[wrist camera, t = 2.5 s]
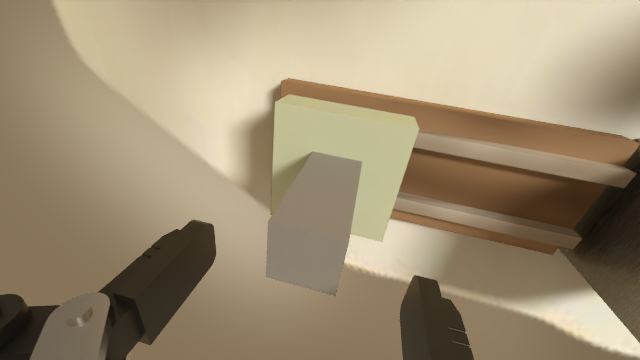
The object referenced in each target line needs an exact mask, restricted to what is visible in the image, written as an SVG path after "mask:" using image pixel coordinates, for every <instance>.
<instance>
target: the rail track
mask: <svg viewBox="0 0 640 360" xmlns="http://www.w3.org/2000/svg"><path fill="white" fill-rule="evenodd" d="M289 94H290V95H296V96H301V97H307V98H313V99H318V100H324V101H329V102H335V103H340V104H346V105H351V106H357V107H363V108H368V109H374V110H379V111H385V112H390V113H396V114H401V115H407V116H413V117H415V120H416V122H417V124H418V127H419V131H418V134H417V137H416V140H415V143H414V146H413V149H412V152H411V155H410V158H409V161H408V164H407V167H406V170H405V173H404V176H403V180H402V183H401V186H400V189H399V192H398V195H397V198H396V201H395V204H394V207H393V210H392V213H391V216H390V217H391V218H395V219H400V220H404V221H408V222H413V223H417V224H421V225H426V226H430V227H434V228H439V229H443V230H448V231H452V232H456V233H461V234H465V235H469V236H474V237H478V238H482V239H487V240H491V241H495V242H500V243H504V244H509V245H513V246H517V247H522V248H526V249H530V250H535V251H539V252H543V253H548V254H552V255H553V253H554V252H555V251H556V250H557V248H558V247H559V246H561V247H565V248H570V249H574V248H575V247H576V245H577V244H578V243H579V242H580V241H581V239H582V238H581V237H580V236H579V235H578V234H577V233H576V232H575V231H574V230H573V228H574V227H575V226H576V224H577V223H578V222H579V221H580V219H581V218H582V217H583V216H584V214H585V213H586V212H587V211H588V209H589V208H590V207H591V206H592V204H593V203H594V202H595V201H596V199H597V198H598V197H599V196H600V194H601V193H602V192H603V191H604V189H605V188H606V187H607V186H608V185H610V186H615V187H621V188H625V187H626V186H627V185H628V183H629V182H630V181H631V180H632V179H633V177H634V176H635V175H636V174H637V173H635V172H633V171H631V170H629V169H627V168H625V167H623V165H624V164H625V163H626V162H627V160H628V159H629V158H630V157H631V155H632V154H633V153H634V152H635V150H636V149H637V148H638V147H639V145H640V143H638V142H636V141H633V140H631V139H628V138H626V137H623V136H620V135H615V134H609V133H603V132H597V131H591V130H586V129H580V128H574V127H568V126H562V125H557V124H551V123H545V122H539V121H533V120H527V119H522V118H516V117H510V116H504V115H498V114H493V113H487V112H481V111H475V110H469V109H464V108H458V107H452V106H446V105H440V104H434V103H429V102H423V101H417V100H411V99H405V98H400V97H394V96H388V95H382V94H376V93H371V92H365V91H359V90H353V89H347V88H341V87H336V86H330V85H324V84H318V83H312V82H307V81H301V80H295V79H289V78H288V79H285V80H283V81H281V98H283V97H285V96H287V95H289Z"/></svg>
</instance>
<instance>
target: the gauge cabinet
mask: <svg viewBox="0 0 640 360" xmlns="http://www.w3.org/2000/svg"><path fill="white" fill-rule="evenodd" d="M636 142H638V143H640V139H637V141H636ZM623 167H625V168H627V169H629V170H631V171H633V172H635V173H637V174H636V175H635V176H634V177H633V179H632V180H631V181H630V182H629V183H628V185H627V186H626V187H625V188H621V187H615V186H610V185H608V186H607V187H606V188H605V189H604V191H603V192H602V193H601V194H600V196H599V197H598V198H597V199H596V201H595V202H594V203H593V204H592V206H591V207H590V208H589V209H588V211H587V212H586V213H585V214H584V216H583V217H582V218H581V219H580V221H579V222H578V223H577V224H576V226H575V227H574V228H573V230H574V231H575V232H576V233H577V234H578V235H579V236H580V237H581V238H582V239H581V241H580V242H579V243H578V244H577V245H576V247H575V248H574V249H570V248H565V247H561V246H559V247H558V248H559V249H560V250H561V252H562V253H563V254H564V255H565V256H566V257H567V259H568V260H569V261H570V262H571V263H572V264H573V266H574V267H575V268H576V269H577V270H578V271H579V273H580V274H581V275H582V276H583V277H584V278H585V280H586V281H587V282H588V283H589V284H590V285H591V287H592V288H593V289H594V290H595V291H596V292H597V294H598V295H599V296H600V297H601V298H602V299H603V301H604V302H605V303H606V304H607V305H608V306H609V308H610V309H611V310H612V311H613V312H614V313H615V315H616V316H617V317H618V318H619V319H620V320H621V322H622V323H623V324H624V325H625V326H626V327H627V329H628V330H629V331H630V332H631V333H632V334H633V336H634V337H635V338H636V339H637V340H638V341H639V343H640V145H639V147H638V148H637V149H636V150H635V152H634V153H633V154H632V155H631V157H630V158H629V159H628V160H627V162H626V163H625V164H624V165H623Z"/></svg>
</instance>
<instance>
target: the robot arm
mask: <svg viewBox="0 0 640 360" xmlns="http://www.w3.org/2000/svg"><path fill="white" fill-rule="evenodd" d="M215 256H216V245H215V234H214V226H213V225H212V224H210V223H206V222H201V221H197V220H192V221H190V222H189V223H188V224H187V225H186V226H185V227H183V228H182V229H181V230H178V229H176V230H174V231H172V232H170V233H168V234H166V235H164V236H162V237H161V238H160V239H159V240H158V241H157V242H155V243H154V244H153V245H152V246H151V248H149V249H148V250H146V251H145V252H144V253H143V254H142V256H140V257H138V258H137V259H136V260H135V261H134V262H133V263H131V264H130V265H129V266H128V267H127V268H126V269H125V270H123V271H122V272H121V273H120V274H119V275H118V276H116V277H115V278H114V279H113V280H112V281H111V282H110V283H108V284H107V285H106V286H105V287H104V288H103V289H101V290H100V291H99V292H90V293H85V294H82V295H79V296H76V297H74V298H72V299H70V300H68V301H66V302H64V303H63V304H62V305H58V306H57V305H55V306H32V307H28V306H27V305H26V303H25V302H24V300H23V299H22V297H20V296H18V295H15V294H5V295H0V360H131V350H132V349H133V347H134V346H135V345H136V344H137V342H138V341H139V342H143V343H145V344H148V345H151V344H152V343H153V341H154V340H155V339H156V337H157V336H158V335H159V334H160V332H161V331H162V330H163V328H164V327H165V326H166V324H167V323H168V322H169V321H170V319H171V318H172V317H173V315H174V314H175V313H176V311H177V310H178V309H179V308H180V306H181V305H182V304H183V302H184V301H185V300H186V298H187V297H188V296H189V295H190V293H191V292H192V291H193V289H194V288H195V287H196V285H197V284H198V283H199V282H200V280H201V279H202V277H203V276H204V275H205V274H206V272H207V271H208V270H209V269H210V267H211V266H212V264H213V262H214V260H215ZM400 324H401V339H402V352H403V360H474V359H473V355H472V351H471V348H469V345H470V344H469V341H468V338H467V334H465V328H464V325H463V321H462V318H461V315H460V313H459V312H458V310H457V309H456V307H455V306H454V304H453V303H452V301H451V300H449V299H445V298H442V297H441V293H440V288H439V285H438V282H437V281H436V280H432V279H428V278H424V277H420V276H416V275H415V276H414V277H413V278H412V280H411V283H410V285H409V287H408V290H407V292H406V294H405V296H404V299H403V301H402V304H401V310H400Z"/></svg>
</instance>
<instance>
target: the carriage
mask: <svg viewBox="0 0 640 360" xmlns="http://www.w3.org/2000/svg"><path fill="white" fill-rule="evenodd" d="M418 131H419V127H418V124H417V122H416V120H415V117H413V116H407V115H401V114H396V113H390V112H385V111H379V110H374V109H368V108H363V107H357V106H351V105H346V104H340V103H335V102H329V101H324V100H318V99H313V98H307V97H301V96H296V95H290V94H289V95H287V96H285V97H283V98H281V99H280V100H278V101H276V102H275V116H274V141H273V166H272V191H271V215H272V216H271V218H270V219H269V221H268V241H267V269H266V270H267V271H266V277H268V278H272V279H275V280H279V281H283V282H286V283H290V284H294V285H297V286H301V287H305V288H309V289H312V290H316V291H319V292H323V293H327V294H330V295H334V296H336V292H337V288H338V284H339V280H340V276H341V272H342V268H343V264H344V259H345V255H346V251H347V247H348V243H349V238H350V234H352V235H356V236H361V237H365V238H369V239H373V240H377V241H381V242H382V240H383V237H384V234H385V231H386V228H387V225H388V222H389V219H390V216H391V213H392V210H393V207H394V204H395V201H396V198H397V195H398V192H399V189H400V186H401V183H402V180H403V176H404V173H405V170H406V167H407V164H408V161H409V158H410V155H411V152H412V149H413V146H414V143H415V140H416V137H417V134H418Z"/></svg>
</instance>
